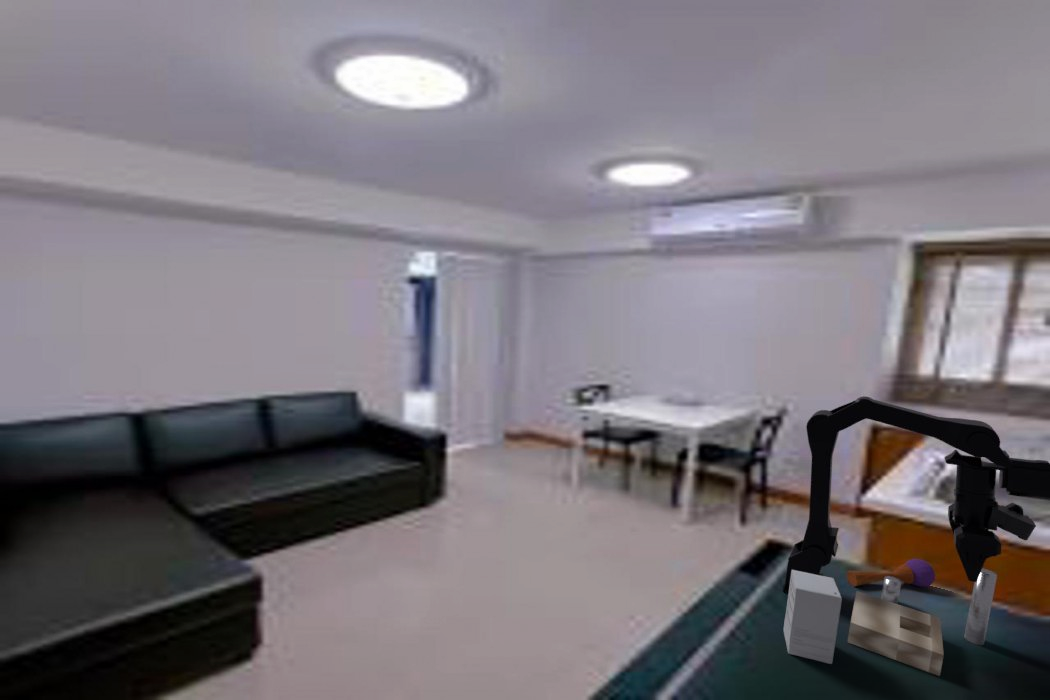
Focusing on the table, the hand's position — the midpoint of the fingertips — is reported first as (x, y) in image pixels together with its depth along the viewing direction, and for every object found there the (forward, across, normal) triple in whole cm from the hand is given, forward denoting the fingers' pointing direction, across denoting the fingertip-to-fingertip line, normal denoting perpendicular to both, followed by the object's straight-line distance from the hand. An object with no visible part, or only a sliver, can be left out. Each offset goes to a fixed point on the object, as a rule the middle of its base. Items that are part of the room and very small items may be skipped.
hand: (969, 571), depth 105 cm
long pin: (+15, +4, -2) cm, 15 cm away
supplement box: (+13, -21, +25) cm, 35 cm away
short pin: (+14, +9, +12) cm, 20 cm away
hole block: (+14, -7, +12) cm, 19 cm away
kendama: (+14, +18, +12) cm, 26 cm away
